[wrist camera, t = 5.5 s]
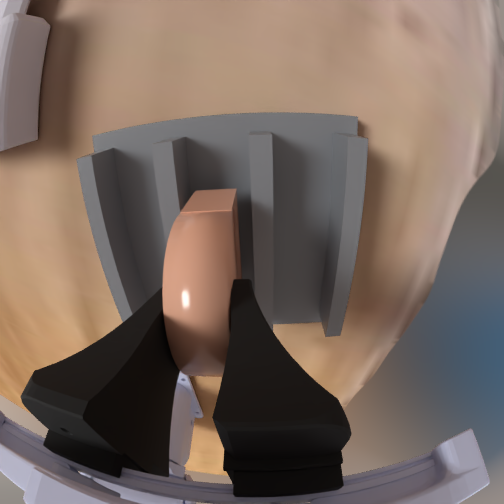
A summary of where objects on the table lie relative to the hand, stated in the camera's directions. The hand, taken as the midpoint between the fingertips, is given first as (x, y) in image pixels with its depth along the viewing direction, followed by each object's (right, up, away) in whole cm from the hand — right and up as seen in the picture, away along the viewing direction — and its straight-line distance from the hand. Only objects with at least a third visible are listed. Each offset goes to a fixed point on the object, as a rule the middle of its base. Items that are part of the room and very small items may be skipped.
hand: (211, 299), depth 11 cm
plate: (0, +2, +4) cm, 4 cm away
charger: (-17, +17, -1) cm, 24 cm away
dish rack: (0, +3, +6) cm, 7 cm away
